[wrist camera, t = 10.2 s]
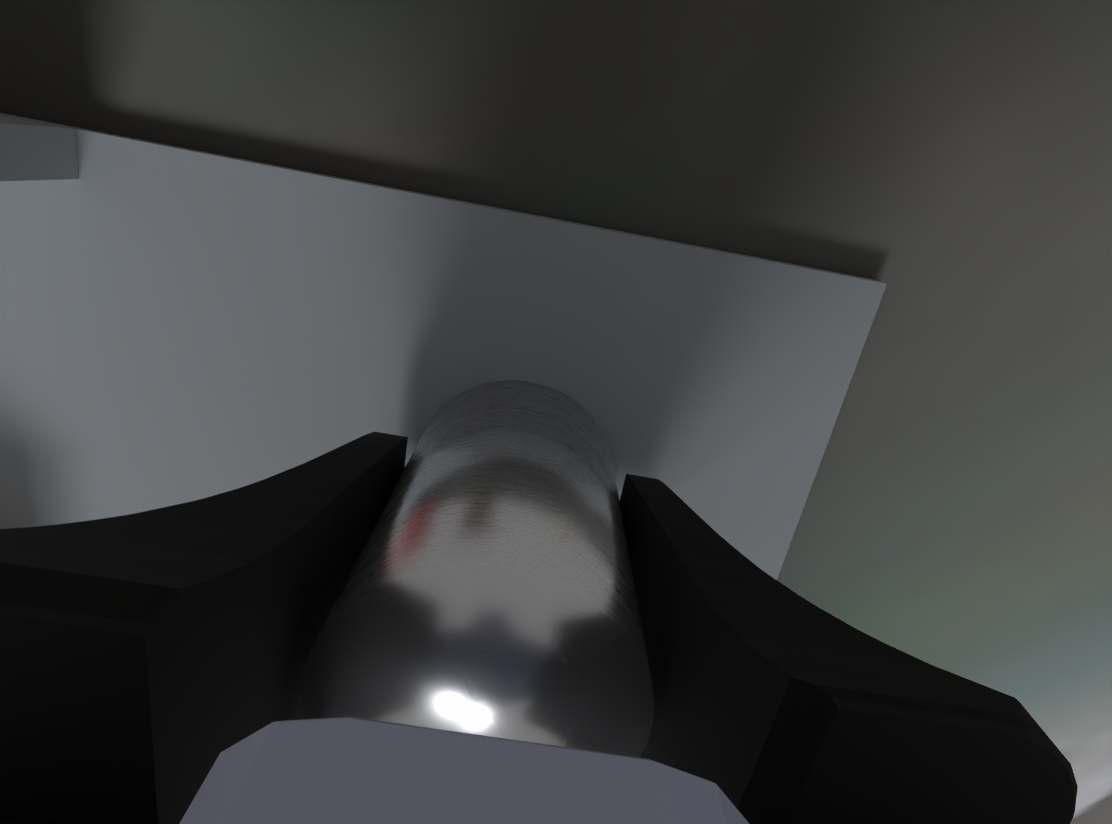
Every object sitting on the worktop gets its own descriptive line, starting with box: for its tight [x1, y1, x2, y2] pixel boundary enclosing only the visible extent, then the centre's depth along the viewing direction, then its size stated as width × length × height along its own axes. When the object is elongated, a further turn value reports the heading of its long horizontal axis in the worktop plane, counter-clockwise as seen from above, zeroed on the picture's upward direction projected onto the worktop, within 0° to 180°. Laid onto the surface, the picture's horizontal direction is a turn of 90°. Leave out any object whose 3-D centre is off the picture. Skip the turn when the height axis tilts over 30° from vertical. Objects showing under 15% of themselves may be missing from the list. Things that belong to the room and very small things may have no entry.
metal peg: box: [302, 380, 654, 757], centre depth 10 cm, size 4×4×6 cm
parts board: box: [0, 113, 887, 580], centre depth 13 cm, size 18×25×3 cm
